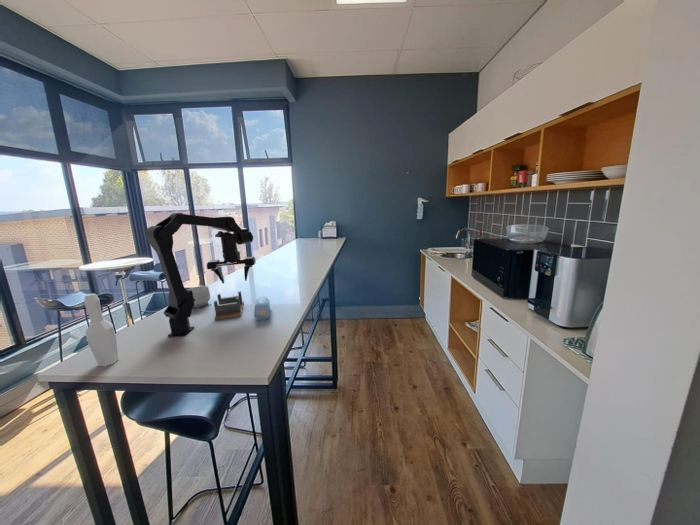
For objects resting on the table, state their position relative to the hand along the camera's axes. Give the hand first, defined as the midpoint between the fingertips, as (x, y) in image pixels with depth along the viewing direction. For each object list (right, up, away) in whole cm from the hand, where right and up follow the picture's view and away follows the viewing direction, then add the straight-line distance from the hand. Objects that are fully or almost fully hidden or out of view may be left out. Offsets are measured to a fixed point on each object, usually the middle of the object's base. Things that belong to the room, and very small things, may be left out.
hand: (234, 282), depth 119 cm
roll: (+14, -11, -5) cm, 18 cm away
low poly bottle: (-24, -22, -35) cm, 48 cm away
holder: (-2, -13, +1) cm, 13 cm away
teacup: (-22, -12, +12) cm, 27 cm away
